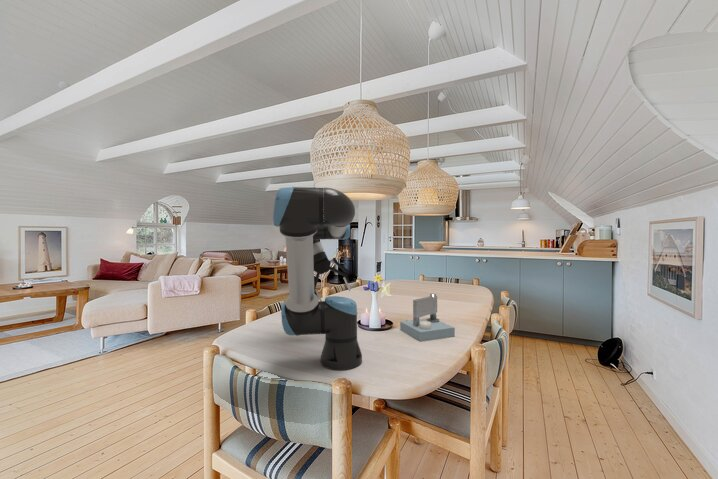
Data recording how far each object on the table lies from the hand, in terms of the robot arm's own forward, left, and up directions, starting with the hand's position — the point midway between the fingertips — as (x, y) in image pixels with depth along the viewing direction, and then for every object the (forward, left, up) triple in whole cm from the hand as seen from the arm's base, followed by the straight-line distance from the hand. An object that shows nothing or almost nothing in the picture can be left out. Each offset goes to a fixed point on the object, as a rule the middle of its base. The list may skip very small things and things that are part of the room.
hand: (336, 297), depth 138 cm
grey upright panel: (-7, -42, -14) cm, 45 cm away
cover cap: (-13, -38, -14) cm, 43 cm away
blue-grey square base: (-9, -41, -18) cm, 46 cm away
